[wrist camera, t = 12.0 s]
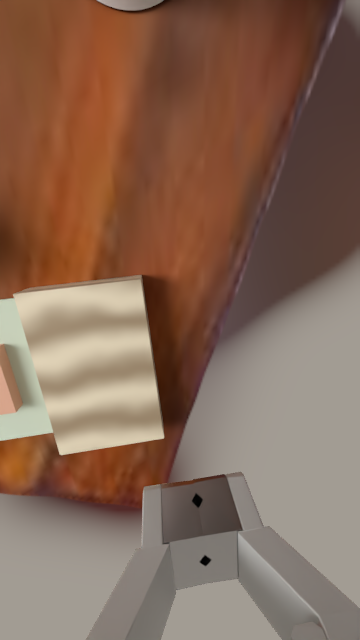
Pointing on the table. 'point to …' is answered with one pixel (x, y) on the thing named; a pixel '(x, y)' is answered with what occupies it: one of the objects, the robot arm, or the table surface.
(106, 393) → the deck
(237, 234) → the table surface
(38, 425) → the mat
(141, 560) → the robot arm
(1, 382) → the pink rectangular block
